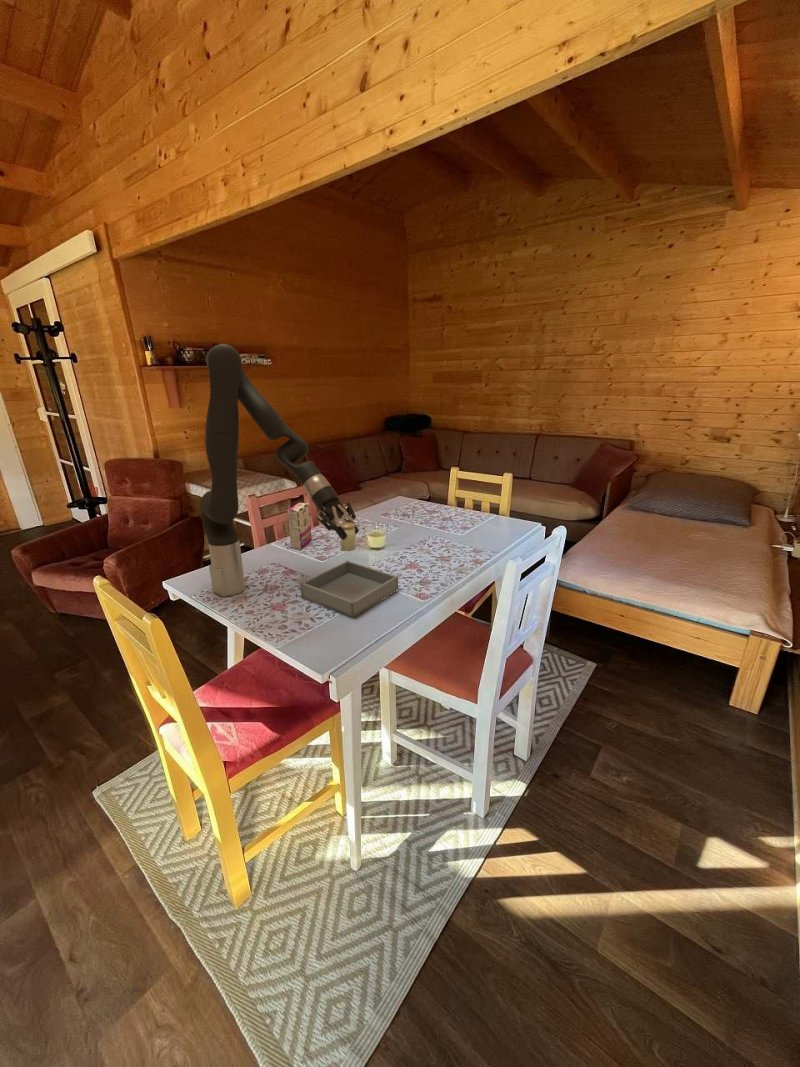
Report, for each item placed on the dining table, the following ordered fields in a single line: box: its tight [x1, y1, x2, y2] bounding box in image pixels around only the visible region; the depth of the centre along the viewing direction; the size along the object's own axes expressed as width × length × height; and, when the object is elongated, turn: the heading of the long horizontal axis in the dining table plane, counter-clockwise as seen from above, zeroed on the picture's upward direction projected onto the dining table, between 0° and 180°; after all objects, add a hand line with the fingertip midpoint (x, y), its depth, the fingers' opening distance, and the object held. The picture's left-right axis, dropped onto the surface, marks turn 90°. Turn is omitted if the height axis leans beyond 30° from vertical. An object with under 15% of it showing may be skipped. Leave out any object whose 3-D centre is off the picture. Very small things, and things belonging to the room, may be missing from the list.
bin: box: [300, 560, 399, 619], centre depth 144 cm, size 22×22×5 cm
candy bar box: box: [286, 502, 313, 550], centre depth 184 cm, size 11×5×16 cm, turn 168°
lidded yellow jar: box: [339, 521, 357, 552], centre depth 140 cm, size 5×5×8 cm
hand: (351, 535), depth 139 cm, fingers closed on lidded yellow jar, 4 cm apart
